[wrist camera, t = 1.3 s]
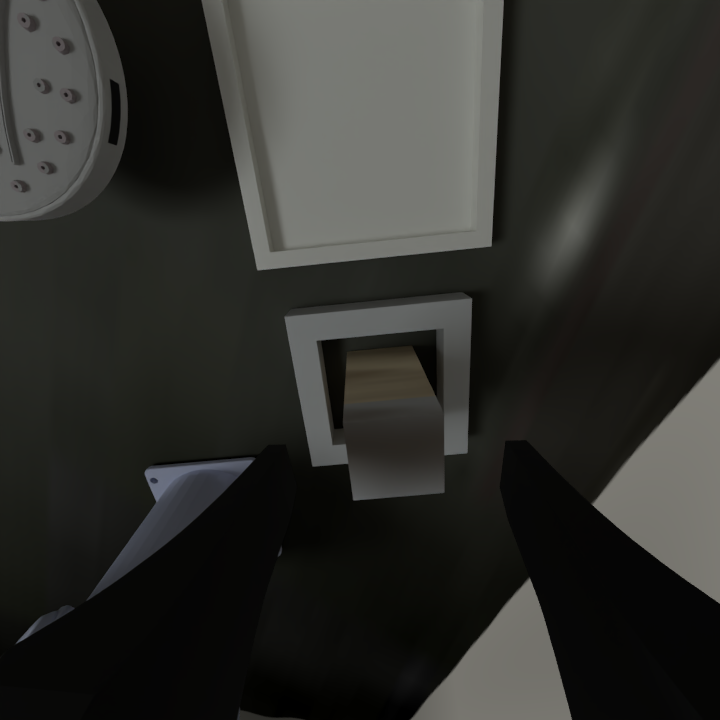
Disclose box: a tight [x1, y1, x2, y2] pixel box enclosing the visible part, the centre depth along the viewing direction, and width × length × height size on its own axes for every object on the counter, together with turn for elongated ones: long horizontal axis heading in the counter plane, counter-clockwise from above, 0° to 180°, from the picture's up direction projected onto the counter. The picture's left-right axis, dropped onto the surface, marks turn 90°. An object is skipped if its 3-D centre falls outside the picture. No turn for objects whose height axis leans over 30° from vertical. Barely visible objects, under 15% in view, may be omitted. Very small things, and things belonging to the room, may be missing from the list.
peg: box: [343, 345, 444, 500], centre depth 18 cm, size 4×4×8 cm
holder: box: [285, 292, 472, 467], centre depth 20 cm, size 10×10×2 cm
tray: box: [202, 0, 504, 270], centre depth 15 cm, size 12×12×2 cm
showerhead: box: [0, 0, 128, 221], centre depth 12 cm, size 9×7×10 cm
